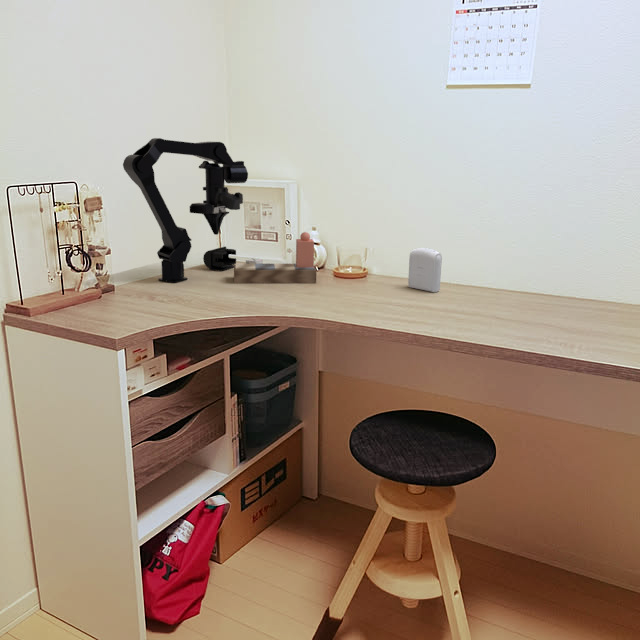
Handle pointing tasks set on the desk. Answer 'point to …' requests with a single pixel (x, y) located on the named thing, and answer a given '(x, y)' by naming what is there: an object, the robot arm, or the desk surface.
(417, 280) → the photo printer
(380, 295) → the desk surface
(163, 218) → the robot arm
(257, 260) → the die
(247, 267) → the track
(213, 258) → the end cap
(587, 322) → the desk surface
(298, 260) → the pawn
